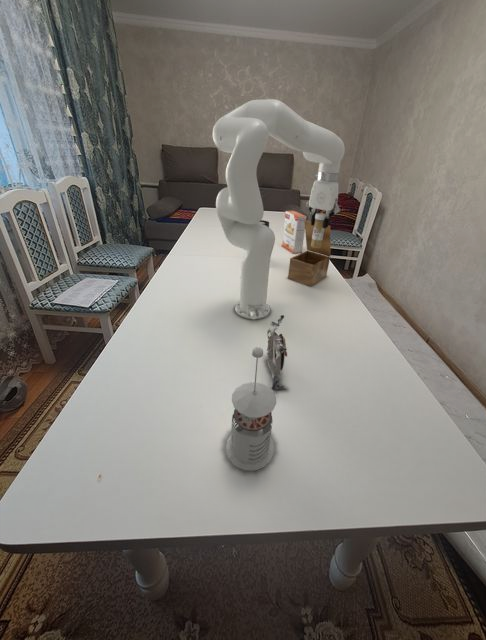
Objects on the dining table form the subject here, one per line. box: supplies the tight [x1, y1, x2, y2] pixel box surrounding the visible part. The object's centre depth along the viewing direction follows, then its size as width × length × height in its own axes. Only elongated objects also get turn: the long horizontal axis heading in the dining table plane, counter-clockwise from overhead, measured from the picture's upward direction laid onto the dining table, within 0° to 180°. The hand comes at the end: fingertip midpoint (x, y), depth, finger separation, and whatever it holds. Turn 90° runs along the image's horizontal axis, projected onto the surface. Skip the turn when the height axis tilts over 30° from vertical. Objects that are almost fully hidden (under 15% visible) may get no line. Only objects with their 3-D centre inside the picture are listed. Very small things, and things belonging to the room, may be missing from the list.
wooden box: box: [287, 250, 331, 287], centre depth 135 cm, size 16×12×10 cm
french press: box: [225, 347, 277, 471], centre depth 54 cm, size 10×12×25 cm
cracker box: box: [281, 210, 308, 254], centre depth 167 cm, size 14×6×21 cm, turn 25°
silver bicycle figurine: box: [266, 314, 288, 391], centre depth 77 cm, size 15×4×13 cm, turn 6°
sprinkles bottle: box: [311, 212, 326, 248], centre depth 119 cm, size 5×5×13 cm
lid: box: [304, 219, 332, 258], centre depth 133 cm, size 16×12×5 cm
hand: (319, 225), depth 118 cm, fingers closed on sprinkles bottle, 4 cm apart
